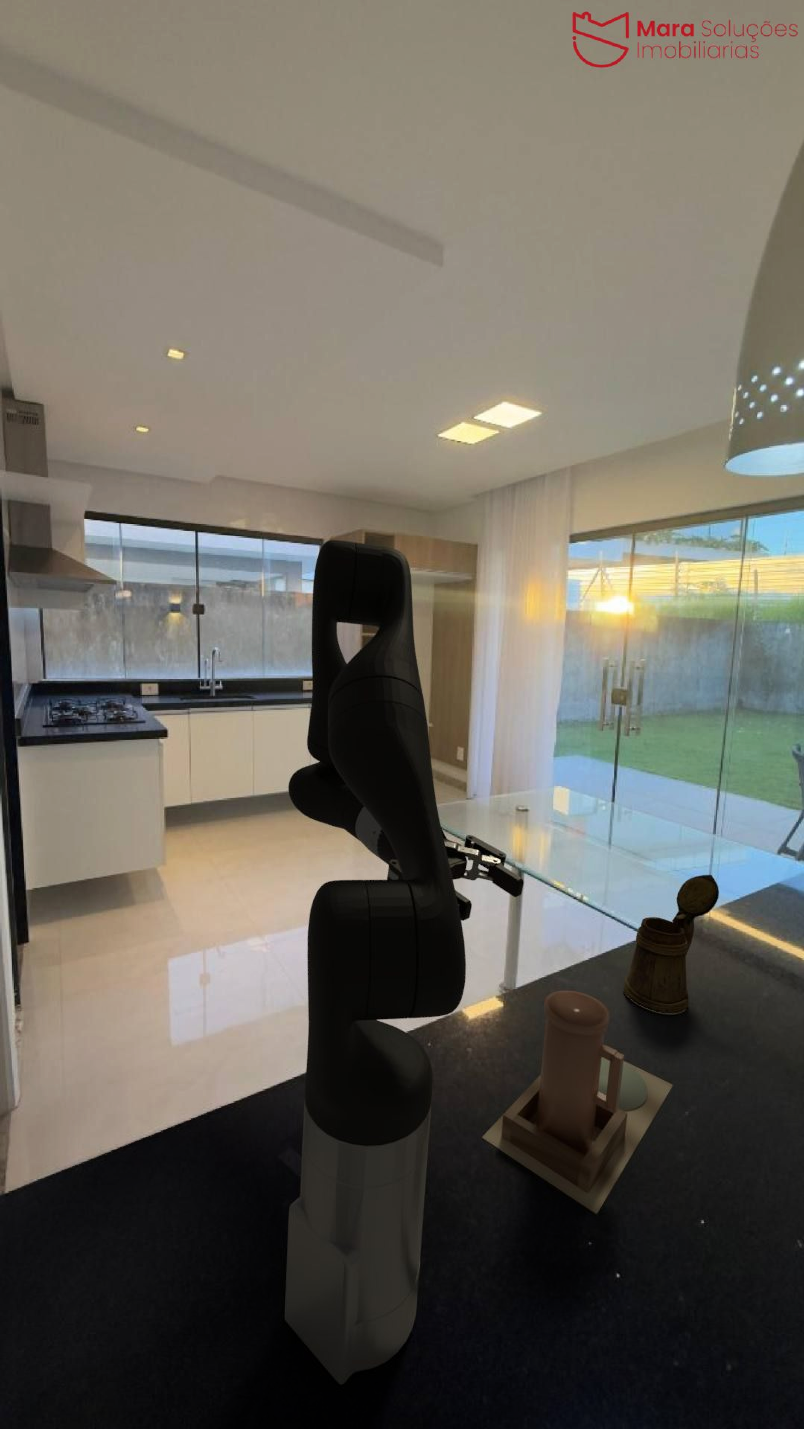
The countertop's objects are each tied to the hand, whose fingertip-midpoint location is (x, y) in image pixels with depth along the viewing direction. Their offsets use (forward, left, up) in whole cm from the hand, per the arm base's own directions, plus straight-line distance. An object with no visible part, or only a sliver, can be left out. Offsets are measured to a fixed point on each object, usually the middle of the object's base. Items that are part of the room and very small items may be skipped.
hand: (495, 900), depth 65 cm
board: (+6, -10, -23) cm, 26 cm away
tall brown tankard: (+1, -10, -22) cm, 24 cm away
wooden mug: (+38, -9, -23) cm, 45 cm away
